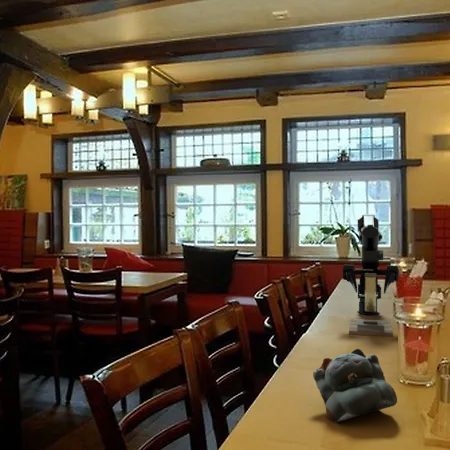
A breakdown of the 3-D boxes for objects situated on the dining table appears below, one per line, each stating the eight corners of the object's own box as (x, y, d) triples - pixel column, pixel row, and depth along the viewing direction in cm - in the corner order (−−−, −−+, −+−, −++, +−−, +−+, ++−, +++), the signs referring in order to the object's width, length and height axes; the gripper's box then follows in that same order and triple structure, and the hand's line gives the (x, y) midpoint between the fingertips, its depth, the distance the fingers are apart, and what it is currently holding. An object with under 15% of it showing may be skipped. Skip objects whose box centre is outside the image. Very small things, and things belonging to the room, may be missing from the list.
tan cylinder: (364, 309, 183) (364, 272, 182) (376, 309, 182) (376, 272, 181) (364, 311, 179) (364, 273, 179) (376, 311, 178) (376, 274, 178)
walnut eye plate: (350, 322, 197) (350, 313, 197) (389, 323, 193) (389, 315, 193) (349, 334, 177) (349, 325, 177) (393, 336, 174) (393, 327, 174)
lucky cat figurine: (322, 426, 101) (303, 353, 107) (329, 428, 112) (312, 362, 118) (401, 408, 98) (377, 335, 104) (400, 412, 109) (379, 345, 115)
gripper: (342, 241, 188) (341, 277, 177) (398, 242, 183) (400, 278, 173) (343, 262, 196) (342, 296, 185) (396, 262, 191) (398, 298, 181)
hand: (370, 292), depth 181 cm, fingers open, 9 cm apart
